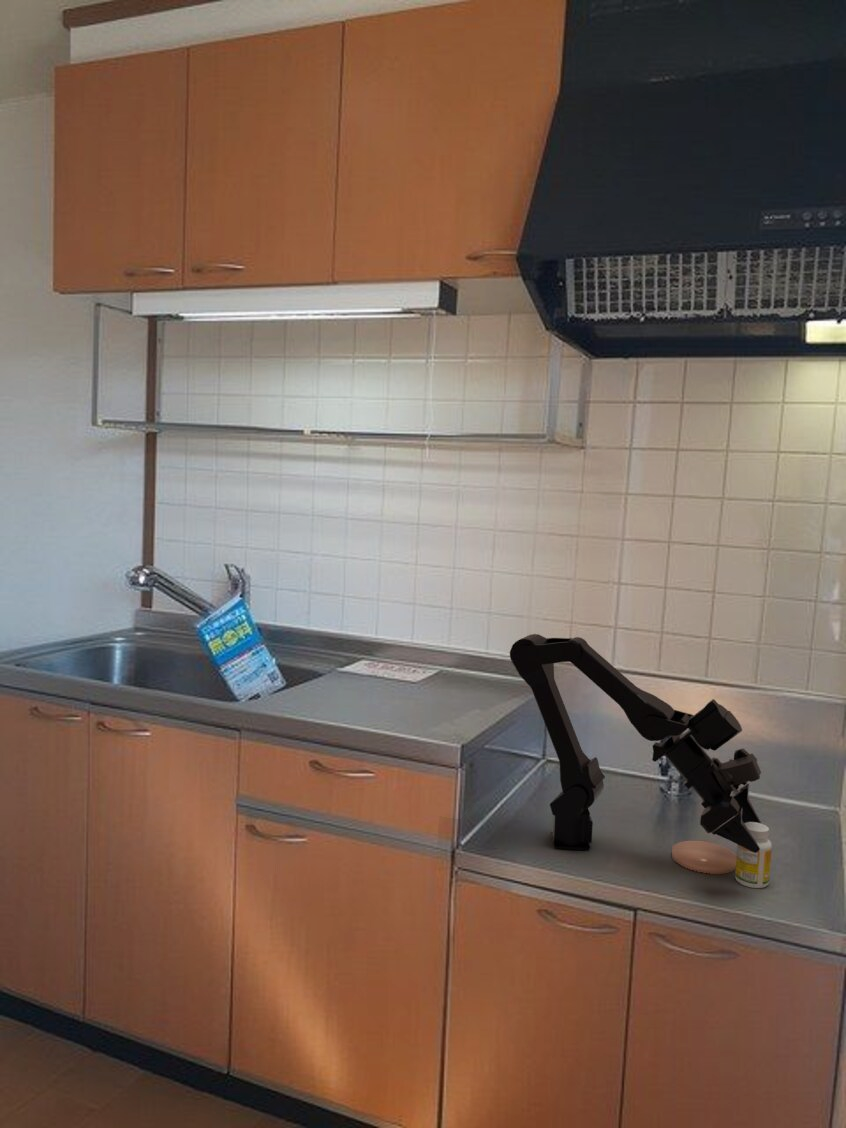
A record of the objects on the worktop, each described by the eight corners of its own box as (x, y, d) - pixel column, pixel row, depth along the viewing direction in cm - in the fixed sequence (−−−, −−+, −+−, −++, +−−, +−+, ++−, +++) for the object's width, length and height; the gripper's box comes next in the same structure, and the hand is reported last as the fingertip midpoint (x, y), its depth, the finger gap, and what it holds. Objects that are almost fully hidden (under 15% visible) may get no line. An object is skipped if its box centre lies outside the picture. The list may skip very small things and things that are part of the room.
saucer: (679, 872, 150) (680, 865, 150) (665, 845, 161) (666, 839, 161) (745, 875, 150) (745, 869, 150) (726, 848, 161) (727, 842, 160)
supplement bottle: (743, 889, 145) (747, 833, 144) (729, 874, 150) (733, 820, 149) (775, 888, 145) (779, 832, 144) (759, 874, 151) (763, 820, 150)
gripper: (726, 753, 139) (797, 834, 135) (737, 724, 156) (801, 796, 152) (672, 793, 143) (739, 872, 139) (689, 760, 160) (750, 831, 156)
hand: (760, 840), depth 147 cm, fingers open, 9 cm apart
